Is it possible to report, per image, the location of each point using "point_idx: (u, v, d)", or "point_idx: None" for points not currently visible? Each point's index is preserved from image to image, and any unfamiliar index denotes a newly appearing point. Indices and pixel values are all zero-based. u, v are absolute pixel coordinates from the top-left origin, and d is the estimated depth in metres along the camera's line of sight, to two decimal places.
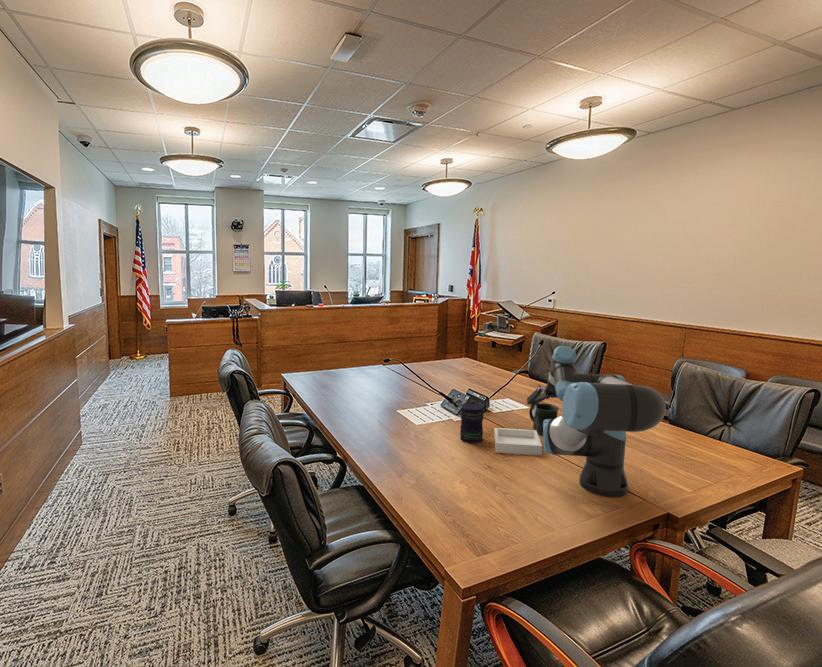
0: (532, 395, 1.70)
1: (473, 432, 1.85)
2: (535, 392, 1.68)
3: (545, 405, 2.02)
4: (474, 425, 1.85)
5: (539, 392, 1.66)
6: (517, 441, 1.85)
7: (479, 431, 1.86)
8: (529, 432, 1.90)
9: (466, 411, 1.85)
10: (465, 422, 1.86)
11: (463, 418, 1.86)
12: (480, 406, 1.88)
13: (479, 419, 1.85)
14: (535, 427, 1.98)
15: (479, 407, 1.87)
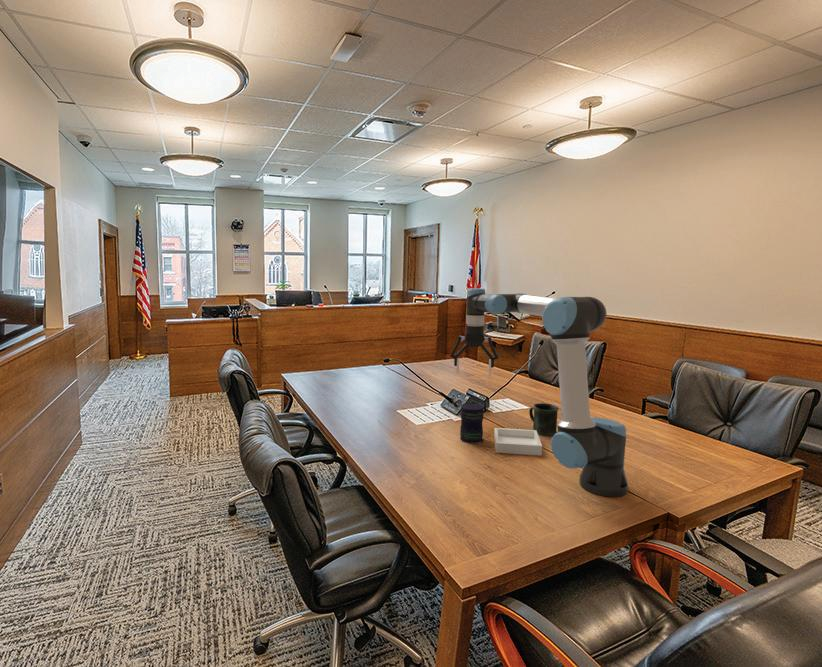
0: (454, 347, 1.86)
1: (473, 432, 1.85)
2: None
3: (545, 405, 2.02)
4: (474, 425, 1.85)
5: (459, 339, 1.84)
6: (517, 441, 1.85)
7: (479, 431, 1.86)
8: (529, 432, 1.90)
9: (466, 411, 1.85)
10: (465, 422, 1.86)
11: (463, 418, 1.86)
12: (480, 406, 1.88)
13: (479, 419, 1.85)
14: (535, 427, 1.98)
15: (479, 407, 1.87)
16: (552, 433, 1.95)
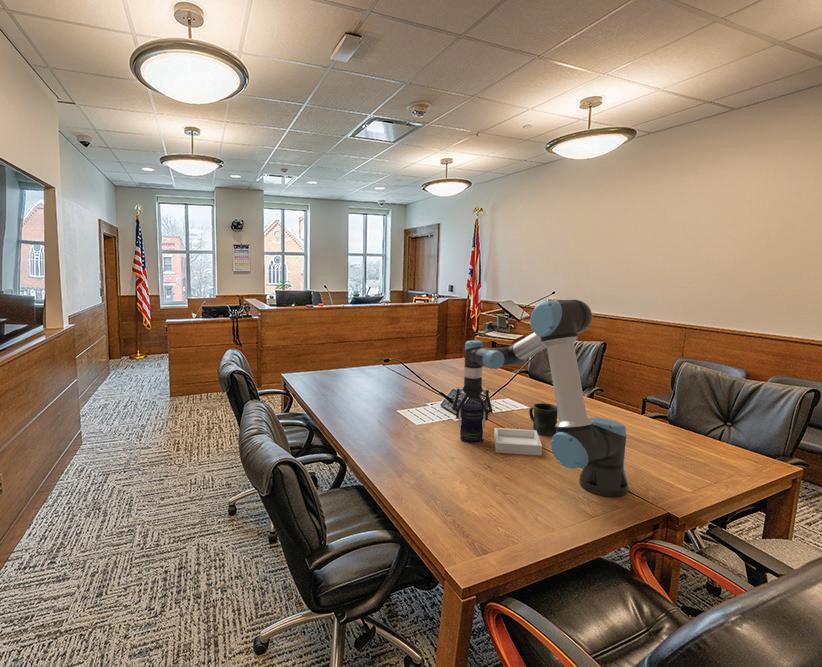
0: None
1: (473, 432, 1.85)
2: (456, 395, 1.89)
3: (545, 405, 2.02)
4: (474, 425, 1.85)
5: (458, 391, 1.87)
6: (517, 441, 1.85)
7: (479, 431, 1.86)
8: (529, 432, 1.90)
9: (466, 411, 1.85)
10: (465, 422, 1.86)
11: (463, 418, 1.86)
12: (480, 406, 1.88)
13: (479, 419, 1.85)
14: (535, 427, 1.98)
15: (479, 407, 1.87)
16: (552, 433, 1.95)
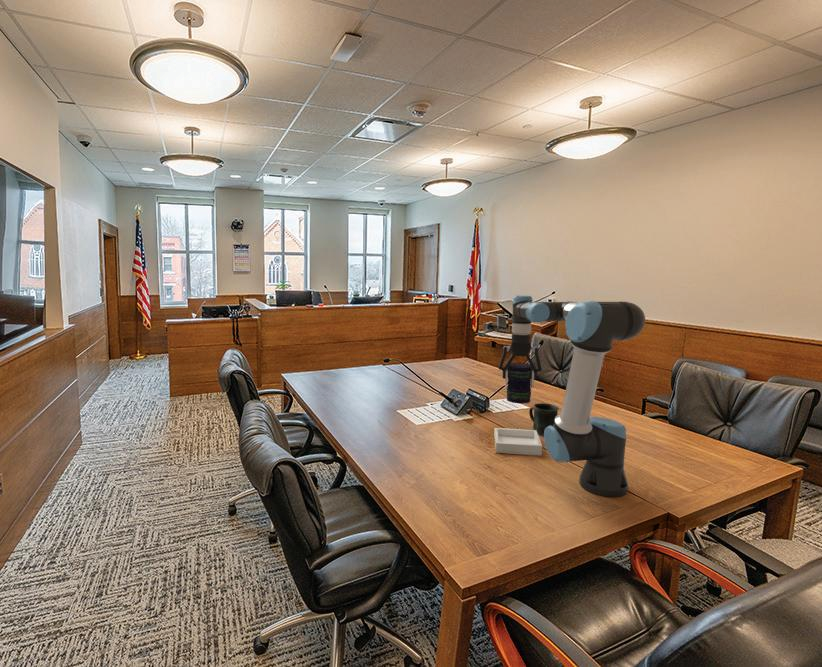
0: (501, 358, 1.80)
1: (522, 391, 1.75)
2: None
3: (545, 405, 2.02)
4: (522, 384, 1.75)
5: (505, 349, 1.78)
6: (517, 441, 1.85)
7: (528, 391, 1.76)
8: (529, 432, 1.90)
9: (514, 369, 1.75)
10: (513, 381, 1.77)
11: (511, 377, 1.77)
12: (528, 365, 1.79)
13: (528, 378, 1.75)
14: (535, 427, 1.98)
15: (527, 366, 1.77)
16: None
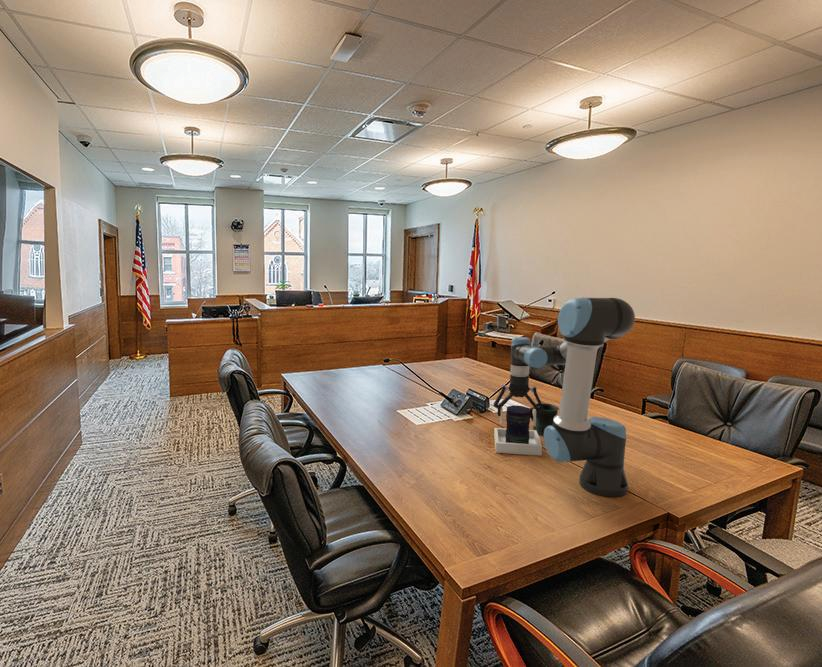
0: (498, 396, 1.82)
1: (520, 436, 1.78)
2: (500, 392, 1.82)
3: (545, 405, 2.02)
4: (521, 429, 1.78)
5: (503, 389, 1.80)
6: None
7: (526, 435, 1.79)
8: (529, 432, 1.90)
9: (513, 414, 1.78)
10: (511, 426, 1.79)
11: (509, 421, 1.79)
12: (527, 409, 1.81)
13: (526, 422, 1.78)
14: (535, 427, 1.98)
15: (526, 410, 1.80)
16: None
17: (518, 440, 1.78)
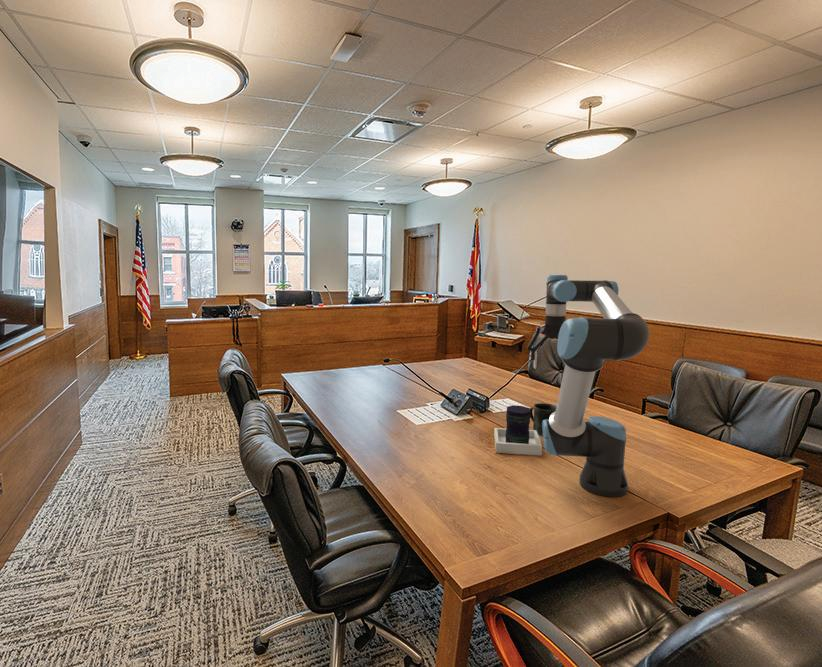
0: (532, 339, 1.71)
1: (520, 436, 1.78)
2: (534, 334, 1.71)
3: (545, 405, 2.02)
4: (521, 429, 1.78)
5: (538, 330, 1.69)
6: None
7: (526, 435, 1.79)
8: (529, 432, 1.90)
9: (513, 414, 1.78)
10: (511, 426, 1.79)
11: (509, 421, 1.79)
12: (527, 409, 1.81)
13: (526, 422, 1.78)
14: (535, 427, 1.98)
15: (526, 410, 1.80)
16: None
17: (518, 440, 1.78)
